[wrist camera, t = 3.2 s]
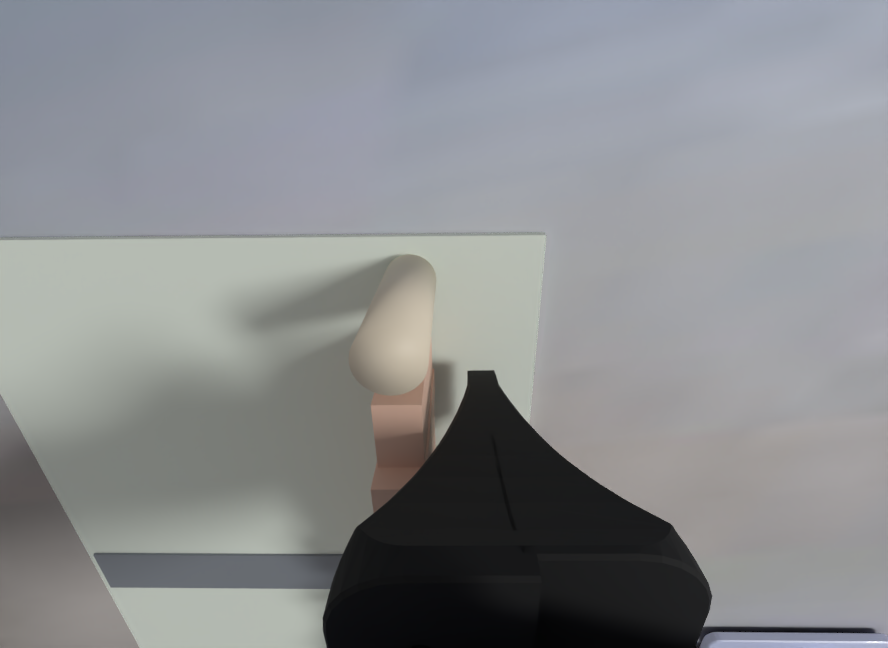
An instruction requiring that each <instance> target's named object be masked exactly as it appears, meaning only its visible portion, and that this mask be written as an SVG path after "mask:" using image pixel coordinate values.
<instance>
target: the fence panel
mask: <svg viewBox="0 0 888 648" xmlns="http://www.w3.org/2000/svg"><path fill="white" fill-rule="evenodd" d="M435 291H436V273H435V271H434V268H433V267H432V265H431V264H430V263H429V262H428V261H427V260H426V259H424V258H422V257H420V256H417V255H413V254H406V255H402V256H399V257H397V258H395V259H394V260H393V261H392V262H391V263H390V264H389V265H388V267H387V269H386V271H385V273H384V275H383V278H382V280H381V282H380V284H379V286H378V289H377V291H376V293H375V295H374V297H373V300H372V302H371V304H370V306H369V308H368V311H367V313H366V315H365V317H364V319H363V322H362V324H361V326H360V328H359V330H358V333H357V335H356V337H355V339H354V341H353V344H352V346H351V348H350V351H349V366H350V369H351V372H352V374H353V376H354V377H355V379H356V380H357V381H358V382H359V383H360V384H361V385H362V386H363V387H365V388H366V389H368V390H370V391H372V392H374V395H373V399H372V402H371V413H372V422H373V430H374V439H375V448H376V456H377V463H376V467H375V472H374V476H373V481H372V485H371V497H372V505H373V512H374V513H375V512H376V511H377V510H378V509H379V508H381V507H382V506H383V505H384V504H385V503H387V502H388V501H389V500H390V499H391V498H392V497H393V496H394V495H395V494H396V493H397V492H398V491H399V490H400V489H401V488H402V487H403V486H404V485H405V484H406V483H407V482H408V481H409V480H410V479H411V478H412V477H413V476H414V475H415V474H416V472H417V471H418V470H419V469H420V468H421V467H422V465H423V464H424V463H425V462H426V460H427V459H428V458H429V457H430V455H431V454H432V453H433V451H434V450H435V448H436V445H435V420H434V400H435V377H434V369H433V368H432V343H431V333H432V323H433V312H434V302H435Z"/></svg>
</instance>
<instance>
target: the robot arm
mask: <svg viewBox="0 0 888 648" xmlns="http://www.w3.org/2000/svg"><path fill="white" fill-rule="evenodd" d="M711 599H712V595H711V591H710V587H709V584H708V582H707V580H706V578H705V576H704V574H703V573H702V571H701V569H700V567H699V566H698V564H697V562H696V560H695V559H694V557H693V556H692V554H691V552H690V551H689V549H688V548H687V546H686V545H685V543H684V542H683V541H682V539H681V538H680V536H679V535H678V534H677V532H676V531H675V529H674V528H673V526H672V525H671V524H670V523H668V522H666V521H664V520H662V519H660V518H658V517H657V516H655V515H653V514H651V513H649V512H647V511H645V510H643V509H641V508H639V507H637V506H636V505H634V504H632V503H630V502H628V501H626V500H625V499H623V498H621V497H620V496H618V495H616V494H615V493H613V492H612V491H610V490H608V489H607V488H605V487H604V486H602V485H600V484H599V483H598V482H596V481H595V480H593V479H592V478H590V477H589V476H587V475H586V474H585V473H583V472H582V471H581V470H579V469H578V468H577V467H575V466H574V465H572V464H571V463H570V462H568V461H567V460H566V459H565V458H564V457H562V456H561V455H560V454H559V453H558V452H557V451H555V450H554V449H553V448H552V447H551V446H550V445H549V444H548V443H547V442H546V441H545V440H544V439H543V438H542V437H541V436H540V435H539V434H538V433H537V432H536V431H535V430H534V429H533V428H532V427H531V426H530V425H529V423H528V422H527V421H526V420H525V419H524V418H523V416H522V415H521V414H520V413H519V412H518V410H517V409H516V408H515V406H514V405H513V404H512V403H511V401H510V400H509V399H508V397H507V396H506V394H505V393H504V392H503V390H502V389H501V387H500V386H499V384H498V380H497V377H496V374H495V371H494V370H471V371H467V388H466V391H465V394H464V397H463V399H462V401H461V404H460V406H459V408H458V411H457V413H456V415H455V417H454V419H453V420H452V422H451V424H450V426H449V428H448V430H447V431H446V433H445V435H444V436H443V438H442V440H441V441H440V443H439V444H438V446H437V447H436V448H435V450H434V451H433V453H432V454H431V455H430V457H429V458H428V459H427V460H426V462H425V463H424V464H423V465H422V467H421V468H420V469H419V470H418V471H417V472H416V474H415V475H414V476H413V477H412V478H411V479H410V480H409V481H408V482H407V483H406V484H405V485H404V486H403V487H402V488H401V489H400V490H399V491H398V492H397V493H396V494H395V495H394V496H393V497H392V498H391V499H390V500H389V501H388V502H387V503H385V504H384V505H383V506H382V507H381V508H379V509H378V510H377V511H376V512H375V513H373V514H372V515H371V516H370V517H368V518H367V519H366V520H365V521H363V522H362V523H361V524H360V525H358V526H357V527H356V528H355V530H354V532H353V534H352V536H351V538H350V540H349V542H348V544H347V546H346V548H345V550H344V553H343V555H342V557H341V559H340V562H339V565H338V567H337V570H336V572H335V575H334V578H333V581H332V584H331V588H330V592H329V595H328V599H327V603H326V607H325V611H324V615H323V634H324V638H325V642H326V646H327V648H696V643H697V641H698V638H699V636H700V633H701V630H702V628H703V625H704V623H705V620H706V618H707V615H708V613H709V610H710V605H711ZM700 648H888V635H886V634H881V633H793V632H712V633H709V634H707V635H705V637H704V638H703V641H702V643H701V645H700Z"/></svg>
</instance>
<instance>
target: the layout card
mask: <svg viewBox="0 0 888 648" xmlns="http://www.w3.org/2000/svg"><path fill="white" fill-rule="evenodd" d="M545 246H546V234H545V233H443V234H336V235H230V236H124V237H17V238H0V394H1V396H2V398H3V400H4V401H5V403H6V405H7V407H8V409H9V410H10V412H11V414H12V416H13V418H14V420H15V421H16V423H17V425H18V427H19V429H20V430H21V432H22V434H23V436H24V438H25V440H26V441H27V443H28V445H29V447H30V449H31V450H32V452H33V454H34V456H35V458H36V460H37V461H38V463H39V465H40V467H41V469H42V471H43V472H44V474H45V476H46V478H47V480H48V481H49V483H50V485H51V487H52V489H53V491H54V492H55V494H56V496H57V498H58V500H59V501H60V503H61V505H62V507H63V509H64V511H65V512H66V514H67V516H68V518H69V520H70V522H71V523H72V525H73V527H74V529H75V531H76V532H77V534H78V536H79V538H80V540H81V542H82V543H83V545H84V547H85V549H86V551H87V552H88V554H89V556H90V558H91V560H92V562H93V563H94V565H95V567H96V569H97V571H98V572H99V574H100V576H101V578H102V580H103V582H104V583H105V585H106V587H107V589H108V591H109V593H110V594H111V596H112V598H113V600H114V602H115V603H116V605H117V607H118V609H119V611H120V613H121V614H122V616H123V618H124V620H125V622H126V623H127V625H128V627H129V629H130V631H131V633H132V634H133V636H134V638H135V640H136V642H137V643H138V645H139V647H140V648H327V646H326V642H325V638H324V634H323V615H324V611H325V607H326V603H327V599H328V595H329V592H330V588H331V584H332V581H333V578H334V575H335V572H336V570H337V567H338V565H339V562H340V559H341V557H342V555H343V553H344V550H345V548H346V546H347V544H348V542H349V540H350V538H351V536H352V534H353V532H354V530H355V528H356V527H357V526H358V525H360V524H361V523H362V522H363V521H365V520H366V519H367V518H368V517H370V516H371V515H372V514H373V513H374V512H373V505H372V497H371V485H372V481H373V476H374V472H375V467H376V463H377V456H376V448H375V439H374V430H373V422H372V413H371V402H372V399H373V395H374V392H372V391H370V390H368V389H366V388H365V387H363V386H362V385H361V384H360V383H359V382H358V381H357V380H356V379H355V377H354V376H353V374H352V372H351V369H350V366H349V351H350V348H351V346H352V344H353V341H354V339H355V337H356V335H357V333H358V330H359V328H360V326H361V324H362V322H363V319H364V317H365V315H366V313H367V311H368V308H369V306H370V304H371V302H372V300H373V297H374V295H375V293H376V291H377V289H378V286H379V284H380V282H381V280H382V278H383V275H384V273H385V271H386V269H387V267H388V265H389V264H390V263H391V262H392V261H393V260H394V259H395V258H397V257H399V256H402V255H406V254H413V255H417V256H420V257H422V258H424V259H426V260H427V261H428V262H429V263H430V264H431V265H432V267H433V268H434V271H435V273H436V291H435V302H434V312H433V323H432V333H431V343H432V368H433V369H434V377H435V400H434V420H435V445H436V447H437V446H438V444H439V443H440V441H441V440H442V438H443V436H444V435H445V433H446V431H447V430H448V428H449V426H450V424H451V422H452V420H453V419H454V417H455V415H456V413H457V411H458V408H459V406H460V404H461V401H462V399H463V397H464V394H465V391H466V388H467V371H471V370H494V371H495V374H496V377H497V380H498V384H499V386H500V387H501V389H502V390H503V392H504V393H505V394H506V396H507V397H508V399H509V400H510V401H511V403H512V404H513V405H514V406H515V408H516V409H517V410H518V412H519V413H520V414H521V415H522V416H523V418H524V419H525V420H526V421H527V422H528V423H530V412H531V401H532V390H533V379H534V368H535V357H536V346H537V335H538V324H539V313H540V302H541V291H542V279H543V268H544V257H545Z"/></svg>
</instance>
